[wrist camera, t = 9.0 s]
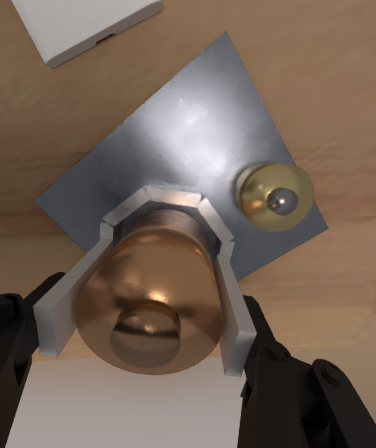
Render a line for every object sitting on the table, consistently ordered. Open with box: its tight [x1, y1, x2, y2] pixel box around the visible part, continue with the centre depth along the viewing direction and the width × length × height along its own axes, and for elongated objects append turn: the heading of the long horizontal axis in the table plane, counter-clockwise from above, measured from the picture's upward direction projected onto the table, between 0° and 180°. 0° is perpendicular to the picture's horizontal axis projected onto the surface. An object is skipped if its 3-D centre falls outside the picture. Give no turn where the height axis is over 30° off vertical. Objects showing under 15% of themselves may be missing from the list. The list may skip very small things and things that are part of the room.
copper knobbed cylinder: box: [75, 209, 223, 375], centre depth 13 cm, size 7×7×9 cm
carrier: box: [34, 31, 328, 281], centre depth 14 cm, size 18×16×4 cm
